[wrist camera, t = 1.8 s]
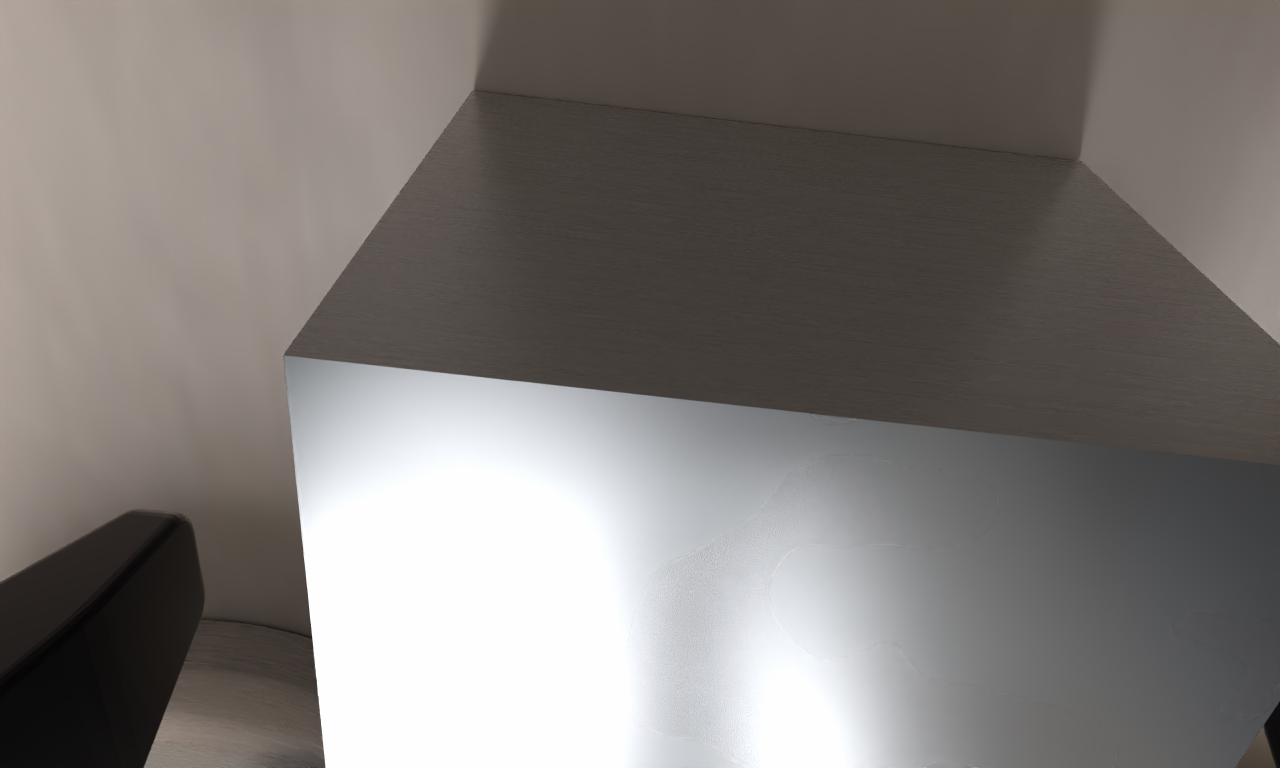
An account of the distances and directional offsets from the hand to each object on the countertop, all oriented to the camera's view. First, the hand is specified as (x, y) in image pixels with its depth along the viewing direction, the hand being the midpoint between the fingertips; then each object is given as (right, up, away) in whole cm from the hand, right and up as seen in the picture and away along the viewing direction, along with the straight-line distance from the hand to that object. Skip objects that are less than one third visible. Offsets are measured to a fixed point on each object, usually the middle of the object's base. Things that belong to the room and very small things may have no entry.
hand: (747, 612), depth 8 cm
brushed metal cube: (0, +2, +3) cm, 3 cm away
